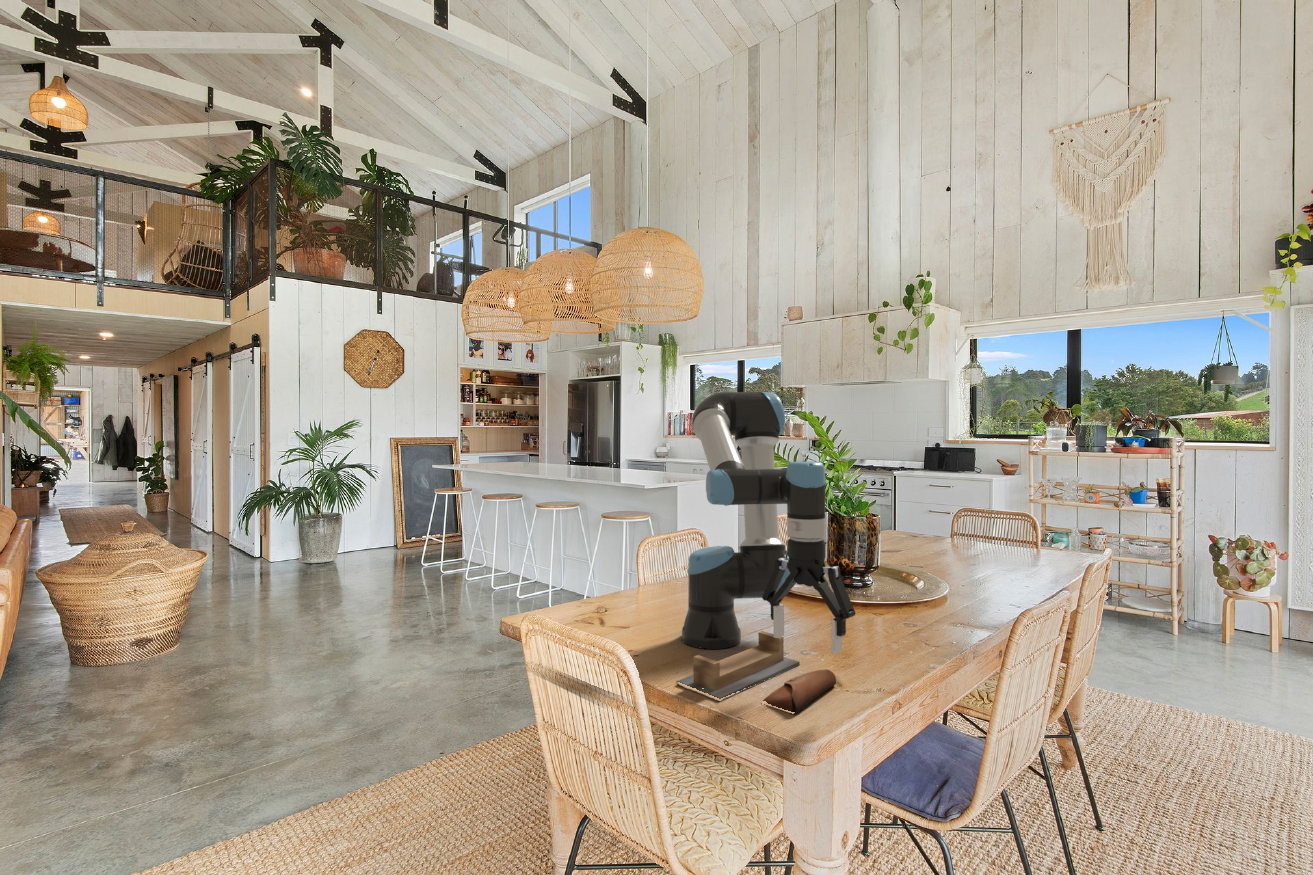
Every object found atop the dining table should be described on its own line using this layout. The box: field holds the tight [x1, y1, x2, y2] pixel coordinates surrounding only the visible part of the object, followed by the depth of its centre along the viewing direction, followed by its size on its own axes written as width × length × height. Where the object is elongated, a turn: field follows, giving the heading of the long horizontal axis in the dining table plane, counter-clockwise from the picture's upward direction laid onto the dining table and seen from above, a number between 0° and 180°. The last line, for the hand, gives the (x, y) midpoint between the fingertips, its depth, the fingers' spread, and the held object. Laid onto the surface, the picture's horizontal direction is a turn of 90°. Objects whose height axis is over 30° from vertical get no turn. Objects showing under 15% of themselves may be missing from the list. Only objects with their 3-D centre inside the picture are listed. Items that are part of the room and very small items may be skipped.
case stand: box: [676, 630, 801, 699], centre depth 146 cm, size 12×28×6 cm, turn 134°
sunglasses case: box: [762, 669, 837, 715], centre depth 134 cm, size 18×7×7 cm
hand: (806, 643), depth 133 cm, fingers open, 13 cm apart
